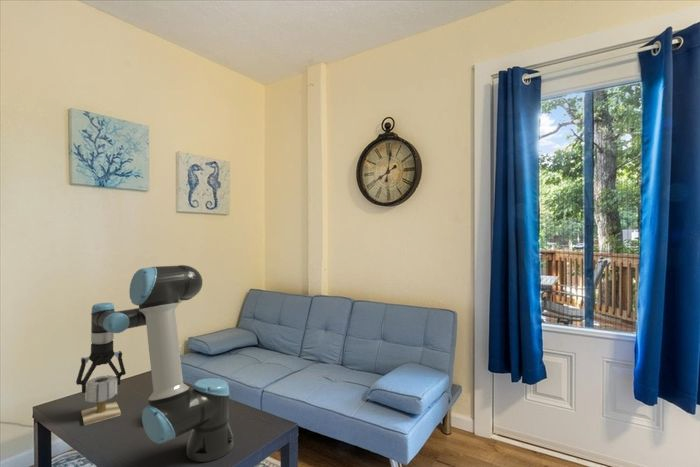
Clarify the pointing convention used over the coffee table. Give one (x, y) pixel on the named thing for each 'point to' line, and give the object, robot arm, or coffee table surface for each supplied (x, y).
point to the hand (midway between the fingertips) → (101, 396)
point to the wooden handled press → (100, 412)
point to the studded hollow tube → (101, 388)
